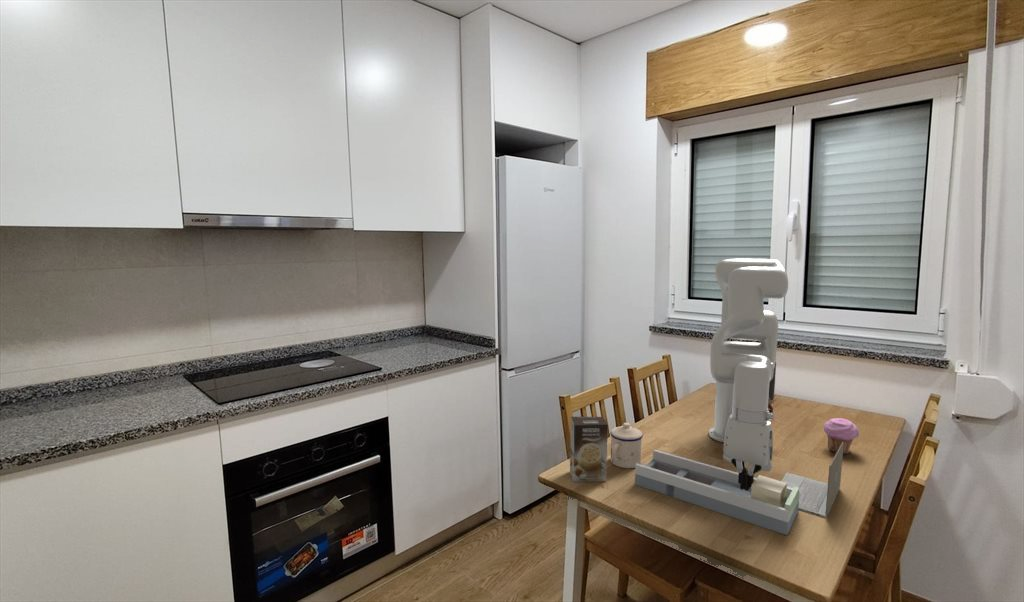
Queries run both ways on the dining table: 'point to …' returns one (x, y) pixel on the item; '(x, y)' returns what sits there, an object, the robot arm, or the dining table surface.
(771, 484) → the block
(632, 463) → the teacup with lid
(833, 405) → the dining table surface
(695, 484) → the channel
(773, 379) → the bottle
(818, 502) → the laptop
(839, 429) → the cupcake
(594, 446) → the coffee box
